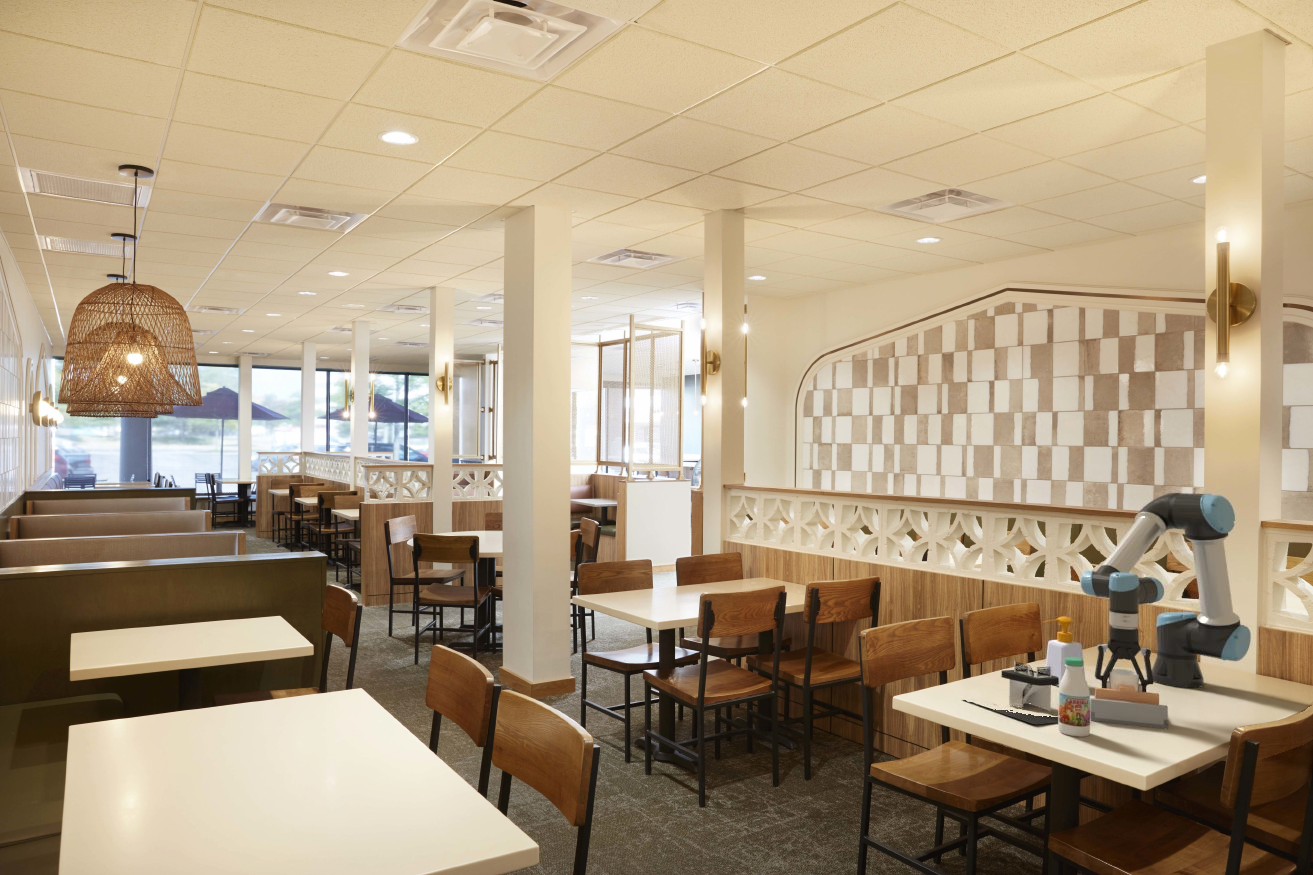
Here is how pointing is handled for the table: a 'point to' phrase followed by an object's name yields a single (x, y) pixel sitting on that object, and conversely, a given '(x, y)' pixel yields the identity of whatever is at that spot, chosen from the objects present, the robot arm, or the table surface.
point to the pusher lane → (1129, 713)
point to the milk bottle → (1074, 700)
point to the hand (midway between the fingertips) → (1123, 705)
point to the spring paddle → (1127, 695)
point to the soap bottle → (1062, 649)
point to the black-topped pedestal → (1030, 691)
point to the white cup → (1123, 678)
